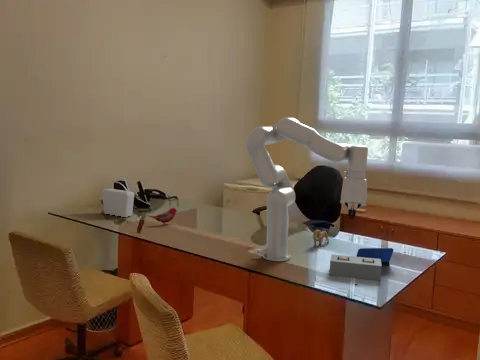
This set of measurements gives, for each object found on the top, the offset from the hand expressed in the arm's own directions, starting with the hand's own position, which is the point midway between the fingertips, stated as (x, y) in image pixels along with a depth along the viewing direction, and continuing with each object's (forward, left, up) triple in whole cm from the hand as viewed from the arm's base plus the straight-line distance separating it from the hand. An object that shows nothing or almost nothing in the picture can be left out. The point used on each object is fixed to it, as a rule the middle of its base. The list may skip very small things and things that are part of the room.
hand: (351, 218), depth 204 cm
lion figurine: (+3, +37, -22) cm, 43 cm away
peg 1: (-5, -4, -22) cm, 23 cm away
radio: (-95, +121, -22) cm, 155 cm away
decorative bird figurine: (-70, +90, -22) cm, 117 cm away
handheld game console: (+13, +5, -22) cm, 27 cm away
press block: (0, -7, -22) cm, 23 cm away
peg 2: (+4, -9, -22) cm, 24 cm away
